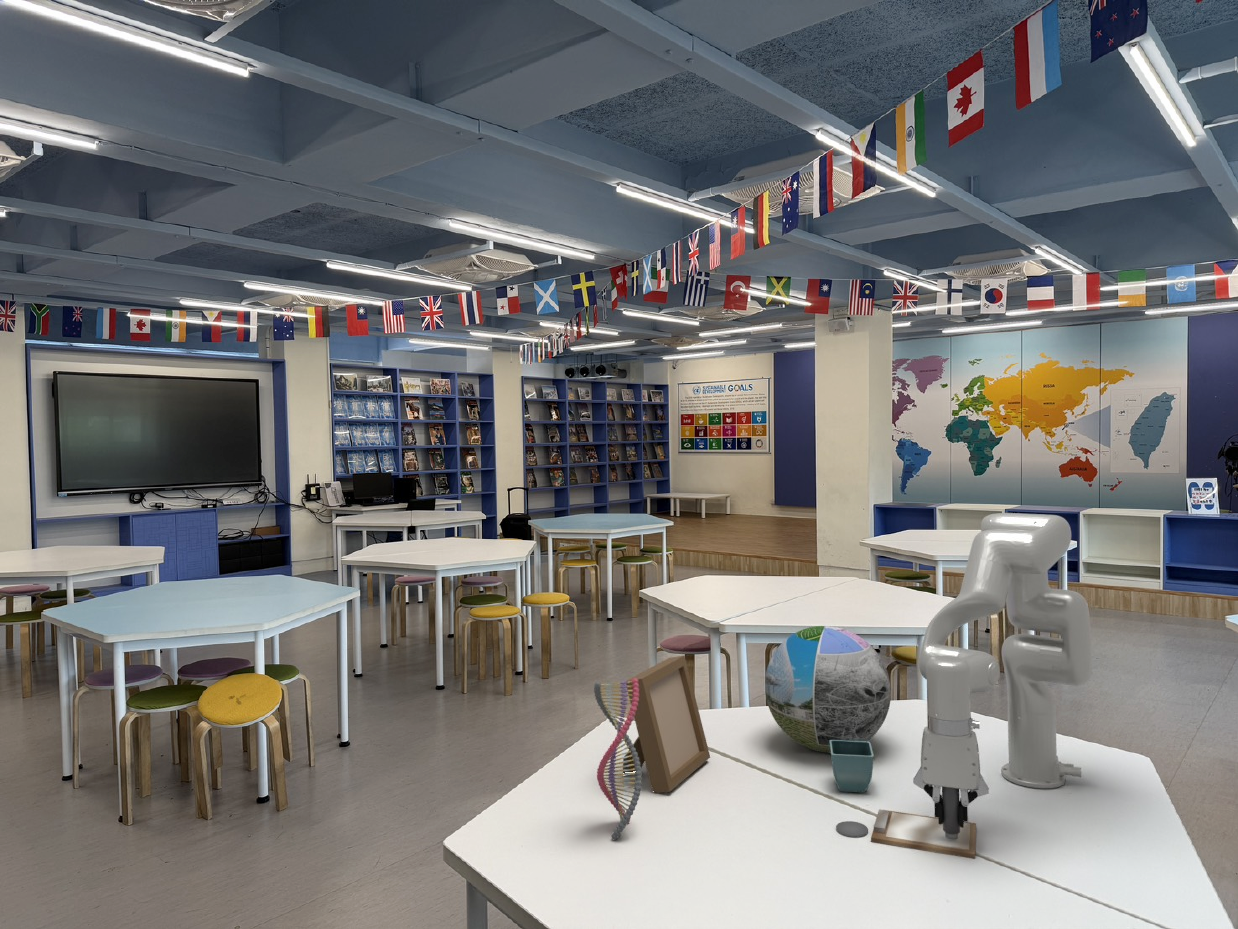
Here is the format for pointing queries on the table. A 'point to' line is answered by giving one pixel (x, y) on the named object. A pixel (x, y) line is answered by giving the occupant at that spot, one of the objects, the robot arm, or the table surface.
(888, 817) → the clipboard
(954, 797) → the marker
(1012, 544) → the robot arm
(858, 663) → the photo collage ball
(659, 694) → the photo frame
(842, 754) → the flower pot
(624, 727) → the dna model
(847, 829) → the dark grey disc
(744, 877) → the table surface
